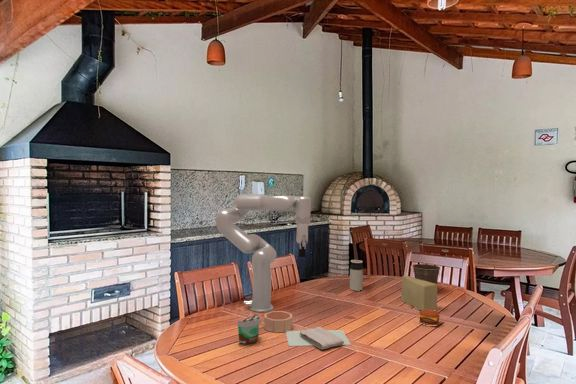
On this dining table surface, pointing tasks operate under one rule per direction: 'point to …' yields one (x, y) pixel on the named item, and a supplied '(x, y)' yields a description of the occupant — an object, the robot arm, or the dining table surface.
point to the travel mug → (356, 275)
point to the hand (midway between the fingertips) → (302, 256)
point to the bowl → (278, 321)
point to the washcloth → (321, 338)
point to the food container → (249, 330)
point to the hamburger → (429, 317)
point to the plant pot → (426, 272)
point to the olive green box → (419, 293)
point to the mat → (296, 340)
